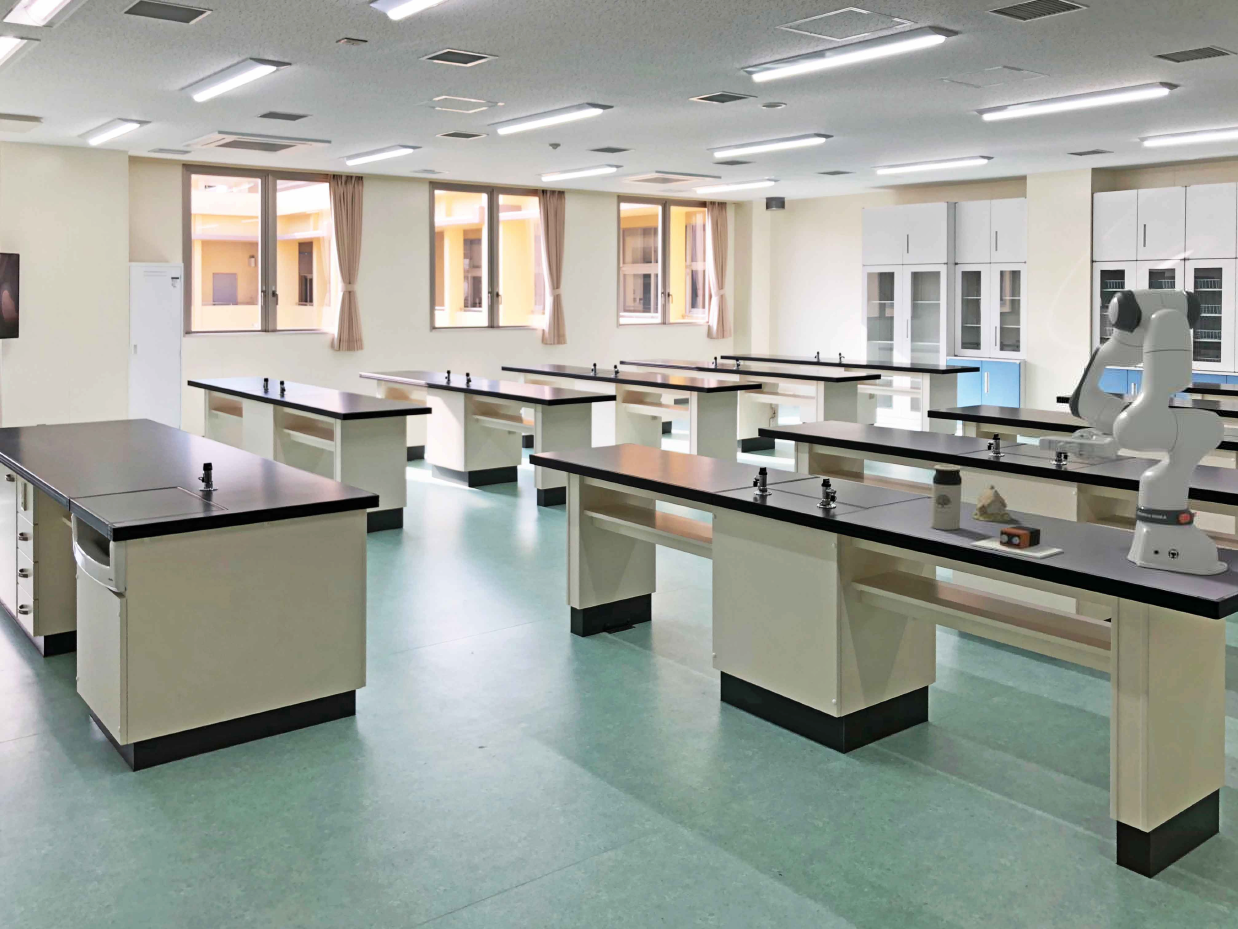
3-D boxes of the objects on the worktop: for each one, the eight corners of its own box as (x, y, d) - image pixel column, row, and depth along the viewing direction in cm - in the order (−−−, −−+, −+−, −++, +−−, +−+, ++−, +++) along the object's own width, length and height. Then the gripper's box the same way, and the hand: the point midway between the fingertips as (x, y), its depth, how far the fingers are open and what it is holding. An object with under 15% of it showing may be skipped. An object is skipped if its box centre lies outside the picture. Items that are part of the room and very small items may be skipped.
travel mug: (939, 523, 326) (942, 463, 323) (964, 527, 320) (967, 466, 318) (925, 527, 320) (928, 466, 318) (950, 531, 315) (953, 469, 312)
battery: (1018, 524, 300) (997, 529, 294) (1041, 528, 294) (1020, 533, 288) (1017, 540, 300) (996, 545, 294) (1040, 544, 295) (1019, 550, 289)
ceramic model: (1015, 522, 329) (1017, 489, 327) (977, 521, 330) (978, 489, 328) (1002, 513, 343) (1004, 481, 341) (966, 513, 344) (967, 481, 342)
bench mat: (1062, 552, 289) (1062, 549, 289) (1039, 558, 282) (1039, 556, 282) (994, 539, 305) (994, 537, 304) (970, 545, 297) (970, 543, 297)
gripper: (1053, 430, 319) (1028, 433, 311) (1122, 436, 304) (1098, 439, 295) (1051, 451, 320) (1027, 455, 311) (1121, 458, 305) (1097, 462, 296)
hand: (1062, 447), depth 303 cm, fingers closed
